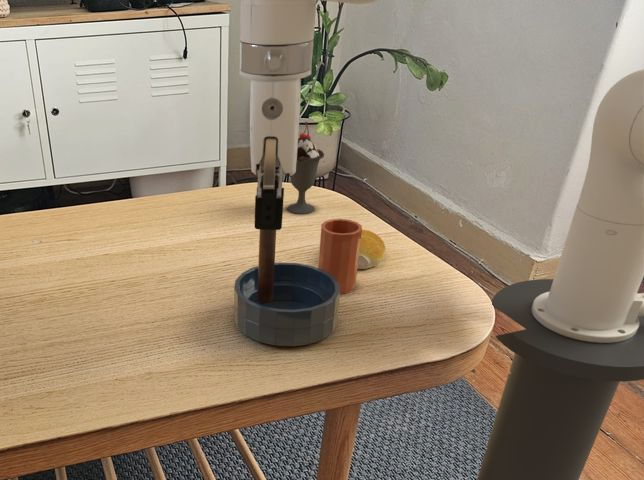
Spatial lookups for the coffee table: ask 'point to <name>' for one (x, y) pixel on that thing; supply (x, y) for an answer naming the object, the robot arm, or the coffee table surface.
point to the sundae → (305, 172)
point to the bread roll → (370, 250)
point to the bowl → (288, 305)
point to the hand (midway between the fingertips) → (268, 223)
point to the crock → (340, 251)
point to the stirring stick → (266, 265)
